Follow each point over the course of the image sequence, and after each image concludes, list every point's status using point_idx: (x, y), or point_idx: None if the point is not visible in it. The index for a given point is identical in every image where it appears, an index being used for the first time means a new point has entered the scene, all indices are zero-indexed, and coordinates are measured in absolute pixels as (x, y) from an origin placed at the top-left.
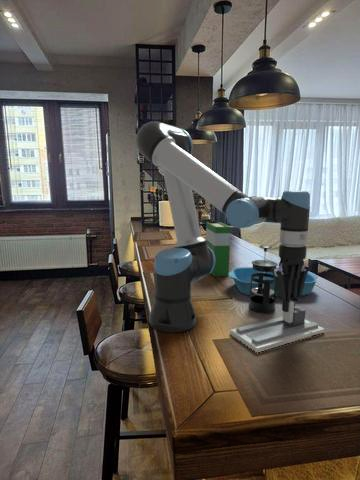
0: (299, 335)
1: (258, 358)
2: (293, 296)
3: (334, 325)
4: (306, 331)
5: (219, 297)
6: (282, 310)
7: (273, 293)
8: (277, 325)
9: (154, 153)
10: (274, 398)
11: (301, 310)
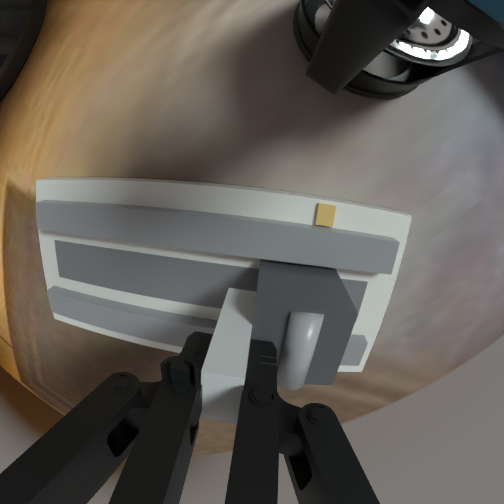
0: None
1: (59, 324)
2: (233, 447)
3: (440, 337)
4: None
5: None
6: (195, 331)
7: (442, 58)
8: (218, 256)
9: None
10: (49, 391)
11: (304, 382)
